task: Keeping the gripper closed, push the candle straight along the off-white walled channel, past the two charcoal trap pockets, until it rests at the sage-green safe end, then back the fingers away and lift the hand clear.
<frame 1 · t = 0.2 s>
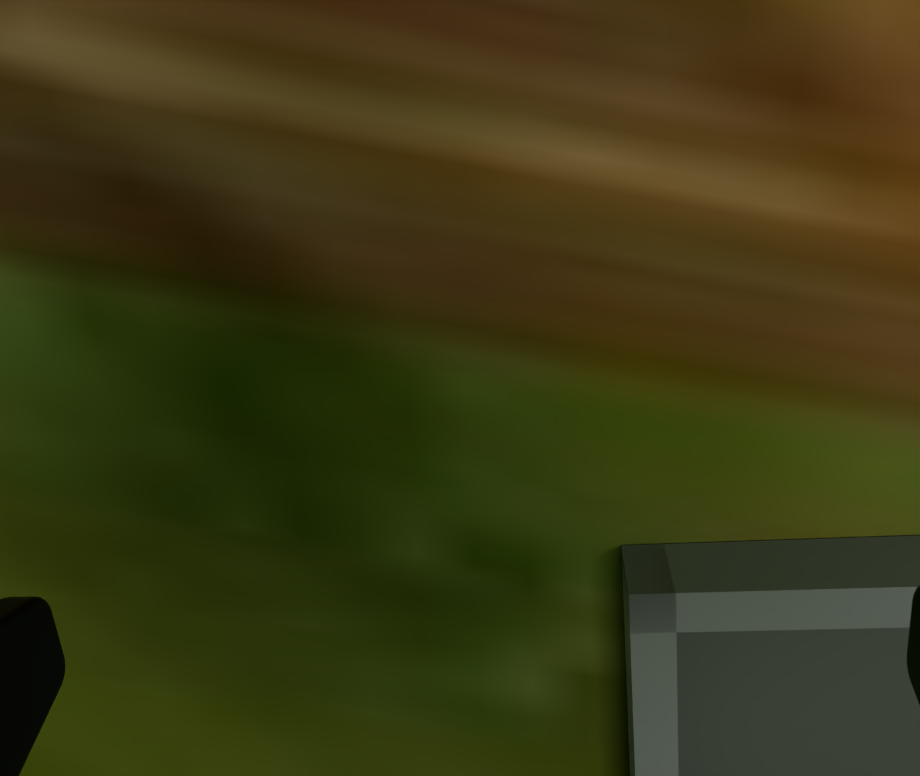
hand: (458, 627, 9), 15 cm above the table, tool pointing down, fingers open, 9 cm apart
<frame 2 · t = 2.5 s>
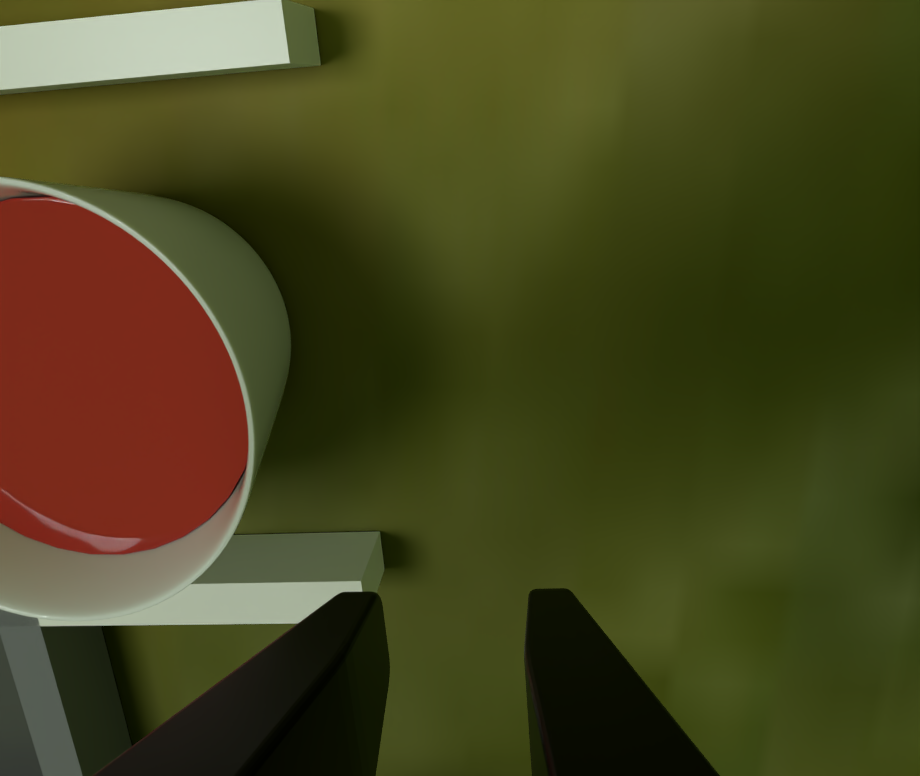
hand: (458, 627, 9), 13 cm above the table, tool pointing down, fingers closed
candle: (168, 327, 22), on the table
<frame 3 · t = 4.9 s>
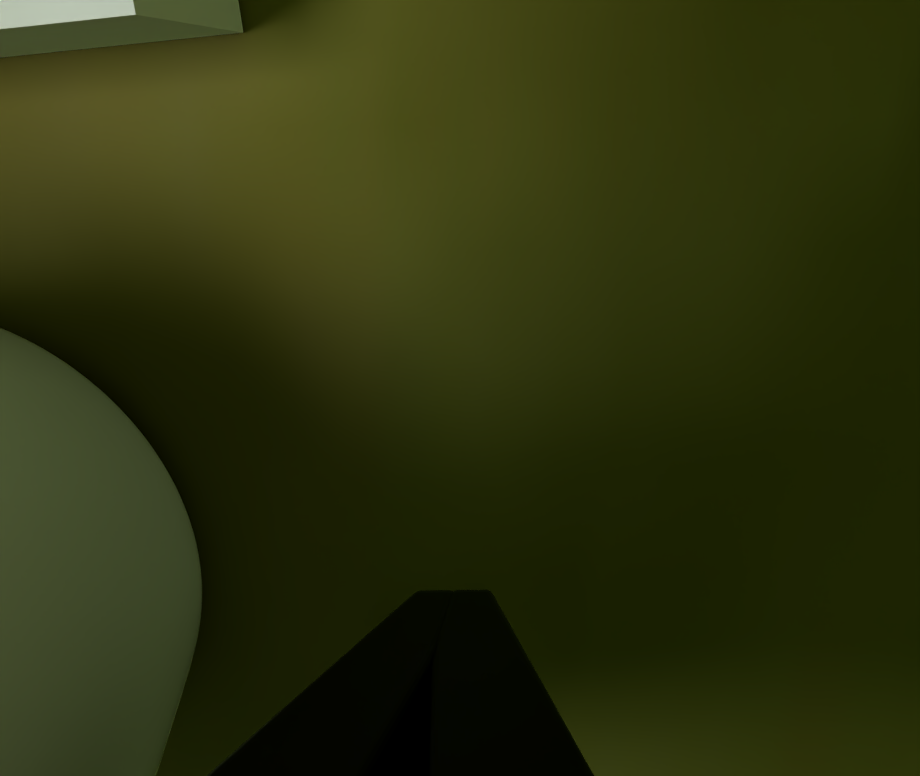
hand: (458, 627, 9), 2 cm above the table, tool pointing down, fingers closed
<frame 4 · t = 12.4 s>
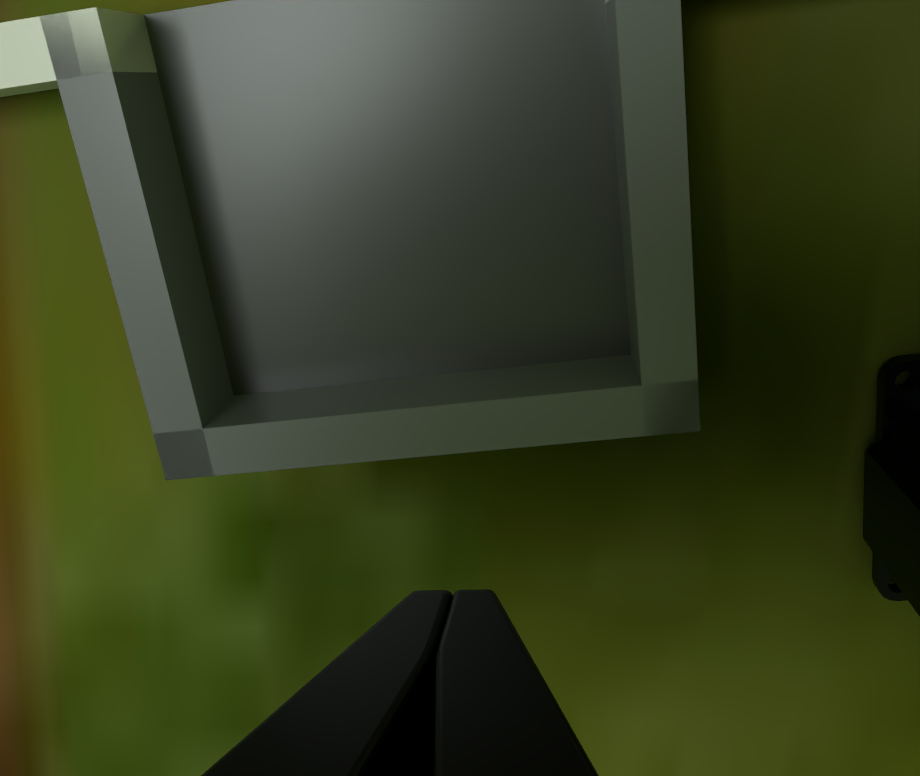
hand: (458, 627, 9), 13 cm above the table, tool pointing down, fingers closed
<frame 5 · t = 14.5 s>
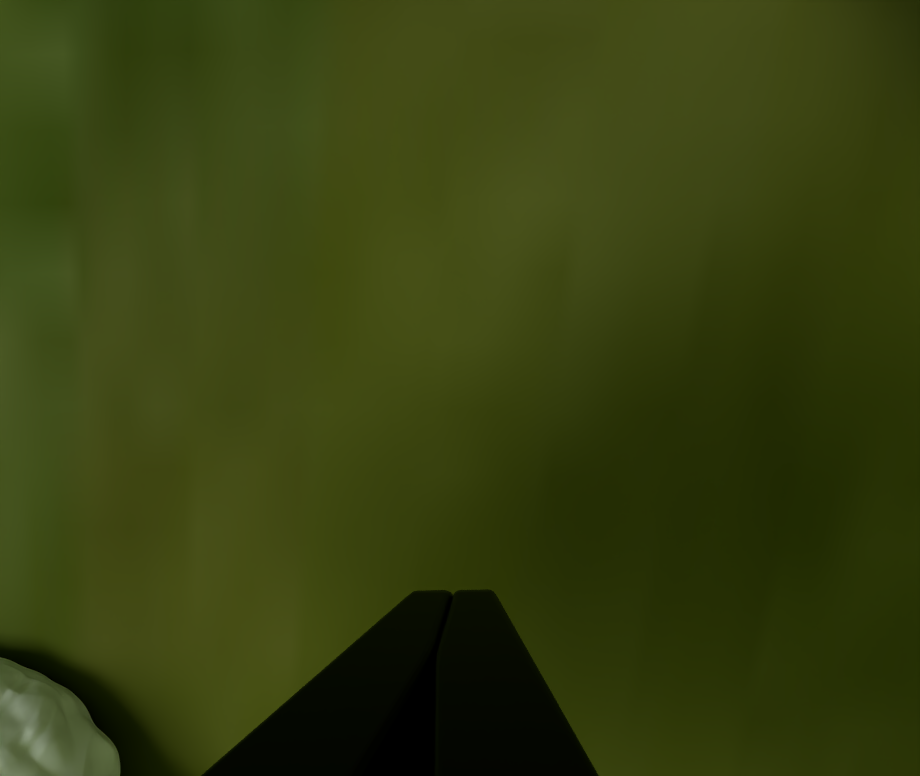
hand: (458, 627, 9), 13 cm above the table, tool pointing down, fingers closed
white animal figurine: (29, 705, 27), on the table
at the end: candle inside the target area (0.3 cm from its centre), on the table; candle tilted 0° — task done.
